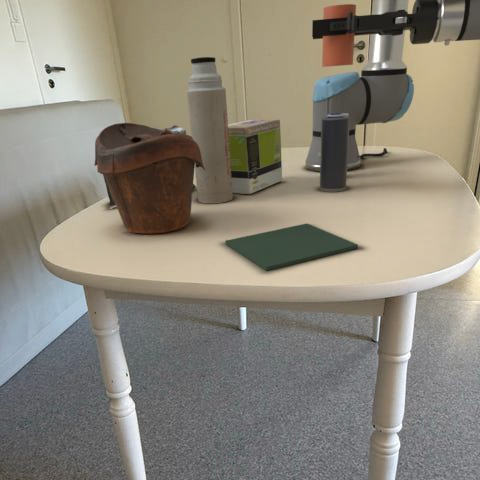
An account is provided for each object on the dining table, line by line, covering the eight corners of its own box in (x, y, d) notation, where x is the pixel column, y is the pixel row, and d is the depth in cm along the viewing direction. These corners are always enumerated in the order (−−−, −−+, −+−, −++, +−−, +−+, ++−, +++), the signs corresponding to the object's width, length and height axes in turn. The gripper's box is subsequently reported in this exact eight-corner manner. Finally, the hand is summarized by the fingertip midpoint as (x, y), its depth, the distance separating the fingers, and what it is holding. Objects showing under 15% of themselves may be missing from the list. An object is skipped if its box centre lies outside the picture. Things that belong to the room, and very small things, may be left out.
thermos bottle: (236, 194, 104) (227, 56, 91) (228, 203, 98) (217, 55, 84) (203, 195, 106) (190, 59, 93) (193, 203, 99) (177, 58, 86)
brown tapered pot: (197, 239, 77) (185, 127, 68) (90, 239, 80) (65, 132, 72) (219, 211, 92) (211, 116, 83) (128, 212, 96) (112, 122, 87)
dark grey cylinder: (335, 184, 107) (338, 116, 100) (352, 189, 102) (356, 117, 95) (314, 188, 105) (315, 119, 98) (329, 193, 100) (332, 120, 93)
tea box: (250, 179, 119) (247, 119, 112) (283, 182, 113) (282, 118, 106) (215, 191, 108) (210, 126, 101) (250, 195, 103) (246, 126, 96)
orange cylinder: (340, 65, 95) (342, 8, 90) (359, 64, 90) (362, 4, 85) (316, 67, 93) (317, 9, 88) (334, 65, 88) (336, 4, 83)
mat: (307, 226, 79) (307, 223, 79) (357, 248, 68) (358, 244, 68) (225, 244, 74) (225, 240, 73) (266, 271, 63) (266, 267, 62)
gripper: (443, 40, 79) (311, 50, 83) (422, 45, 95) (313, 53, 99) (450, -12, 75) (312, 0, 79) (427, 2, 92) (313, 12, 96)
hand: (312, 30), depth 89 cm, fingers closed on orange cylinder, 6 cm apart
